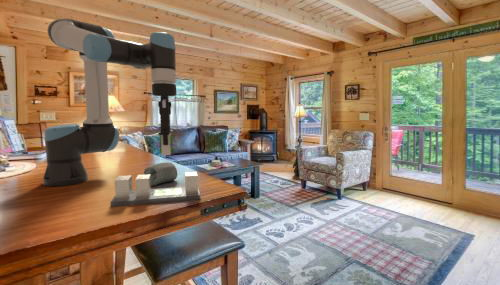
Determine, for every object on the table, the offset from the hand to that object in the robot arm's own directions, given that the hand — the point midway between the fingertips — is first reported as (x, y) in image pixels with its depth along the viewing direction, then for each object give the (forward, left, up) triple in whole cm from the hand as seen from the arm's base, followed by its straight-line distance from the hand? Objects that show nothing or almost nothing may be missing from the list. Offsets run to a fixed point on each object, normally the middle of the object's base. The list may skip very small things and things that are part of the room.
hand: (166, 153), depth 89 cm
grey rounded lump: (-19, -3, -15) cm, 25 cm away
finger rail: (0, -3, -15) cm, 16 cm away
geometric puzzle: (0, 0, 0) cm, 0 cm away
